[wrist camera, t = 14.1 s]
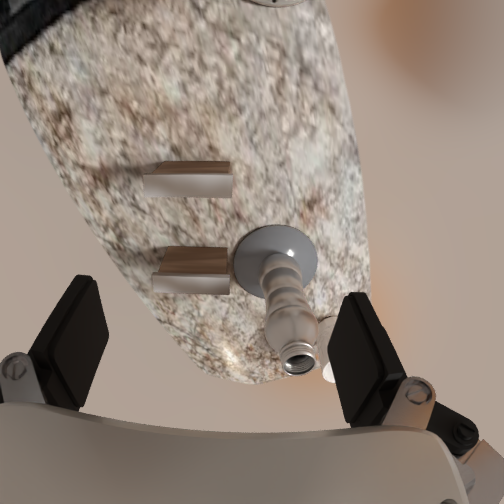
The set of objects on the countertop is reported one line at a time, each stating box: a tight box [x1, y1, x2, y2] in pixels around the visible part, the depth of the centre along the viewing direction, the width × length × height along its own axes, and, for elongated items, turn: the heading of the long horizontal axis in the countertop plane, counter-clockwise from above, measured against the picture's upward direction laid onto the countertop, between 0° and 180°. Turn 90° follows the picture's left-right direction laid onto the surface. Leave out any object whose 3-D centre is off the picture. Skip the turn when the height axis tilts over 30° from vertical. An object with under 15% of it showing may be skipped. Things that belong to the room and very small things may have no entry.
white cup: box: [316, 316, 338, 383], centre depth 52 cm, size 8×8×10 cm
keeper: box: [143, 161, 233, 295], centre depth 40 cm, size 16×10×9 cm, turn 177°
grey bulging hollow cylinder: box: [258, 253, 319, 376], centre depth 39 cm, size 6×7×20 cm
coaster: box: [234, 225, 318, 299], centre depth 48 cm, size 13×13×1 cm
